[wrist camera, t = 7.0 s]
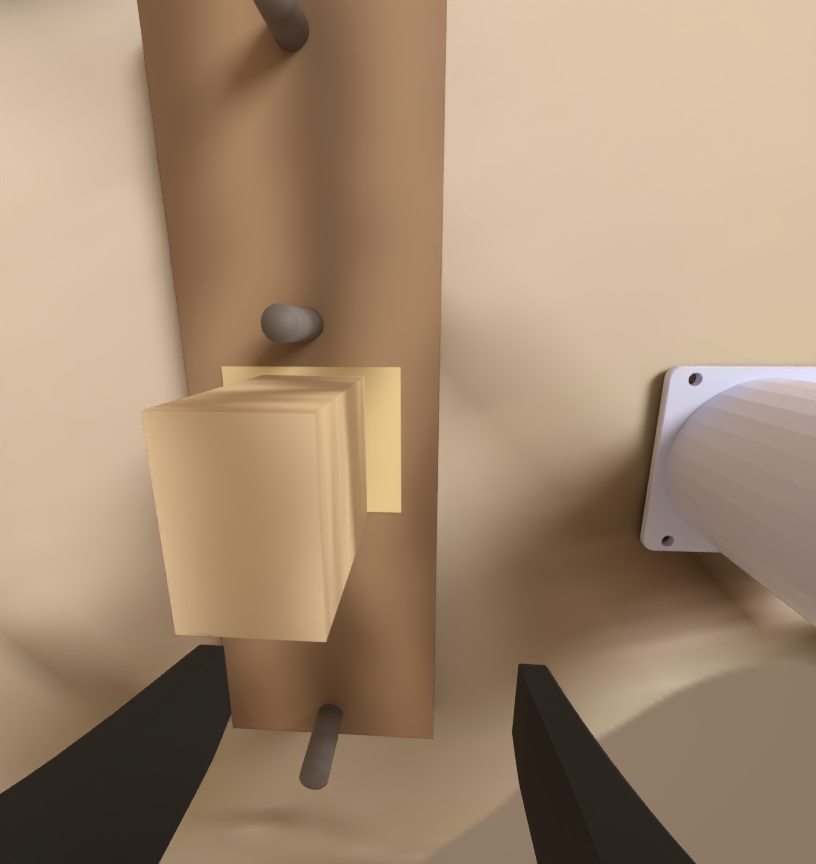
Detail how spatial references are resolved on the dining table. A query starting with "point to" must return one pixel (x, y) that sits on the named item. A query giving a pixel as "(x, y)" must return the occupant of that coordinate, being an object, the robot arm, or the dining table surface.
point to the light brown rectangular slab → (260, 503)
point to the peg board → (319, 301)
